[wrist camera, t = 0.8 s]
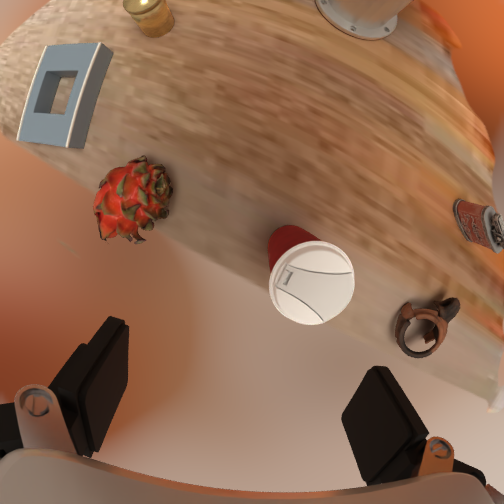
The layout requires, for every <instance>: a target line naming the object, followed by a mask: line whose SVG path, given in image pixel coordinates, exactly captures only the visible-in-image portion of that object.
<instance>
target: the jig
mask: <svg viewBox="0 0 504 504" xmlns="http://www.w3.org/2000/svg"><path fill="white" fill-rule="evenodd" d="M112 55H113V52H112V51H111V50H110V49H108V48H107V47H106V46H105V45H104V44H102V43H101V42H99V43H80V44H63V45H52V46H48V45H46V46H45V48H44V51H43V53H42V56H41V58H40V61H39V64H38V66H37V69H36V72H35V74H34V77H33V80H32V83H31V86H30V90H29V93H28V96H27V99H26V103H25V106H24V110H23V114H22V118H21V122H20V126H19V130H18V135H17V141H26V142H34V143H42V144H49V145H56V146H62V147H69V148H83V149H84V145H85V141H86V136H87V132H88V129H89V125H90V121H91V117H92V114H93V111H94V107H95V104H96V101H97V97H98V94H99V91H100V88H101V85H102V82H103V79H104V77H105V74H106V71H107V68H108V66H109V63H110V61H111V58H112ZM61 77H76V79H75V82H74V85H73V88H72V91H71V94H70V97H69V101H68V104H67V107H66V111H65V114H64V115H61V114H50V111H51V107H52V103H53V100H54V97H55V94H56V90H57V87H58V84H59V81H60V78H61Z"/></svg>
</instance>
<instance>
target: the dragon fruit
mask: <svg viewBox="0 0 504 504" xmlns="http://www.w3.org/2000/svg"><path fill="white" fill-rule="evenodd" d="M164 169H166V168H165V167H164V166H163V165H162V164H150V165H148V163H147V158H146V156H145V155H144V156H141V157H139V158H137V159H134V160H131V161H129V162H128V164H127V166H126V167H118V168H115V169H113V170H111V171H110V172H109V173H108V174H107V175H106V177H105V179H104V180H102V181H101V182H100V185H99V188H101V190H100V191H98V192H97V194H96V198H95V201H94V206H93V210H94V214H95V215H96V217H97V222H98V227H99V232H100V237H101V238H102V240H103V239H104V240H106V238H112V237H115V236H116V235H117V234H119V235H120V236H121V237H123V238H124V237H126V238H127V239H128V240H129V241H130V242H131V241H132V237H131V236H130V234H131V233H132V235H133V237H134V238H135V239H137V241H136V242H135V244H140V243H142V242H144V241H146V240H145V239H143V238H142V237H140V235H139V234H138V227H141V228H142V229H143V230H149V231H150V230H153V228H154V223H153V222H152V220H154V221H156V220H157V219H161V218H163V219H165V218H167V216H168V214H169V210H167V211H166V210H164V209H163V208H164V207H167V206H168V204H169V200H168V199H169V198H170V197H171V196H172V194H173V188H172V187H170V186H169V184H170V182H171V181H170V178H169V177H168V175H167V174H166V173H165V170H164Z"/></svg>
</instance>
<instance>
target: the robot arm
mask: <svg viewBox="0 0 504 504" xmlns="http://www.w3.org/2000/svg"><path fill="white" fill-rule="evenodd" d="M315 1H316V5H317V7H318V9H319V10H320V12H321V13H322V15H323V16H324V17H325V18H326V19H327V20H328V21H329V22H330V23H331V24H333V25H334V26H335V27H336V28H338V29H340V30H341V31H343V32H345V33H347V34H349V35H351V36H354V37H357V38H360V39H366V40H377V39H382V38H384V37H387V36H388V35H389V34H391V33H392V32H393V31H394V30H395V28H396V26H397V20H398V18H397V14H398V13H399V12H400V11H401V10H402V9H404V8H405V7H406V6H407V5H408V4H410V3H411V2H412V1H413V0H315ZM128 344H129V326H128V325H125V321H124V320H121V319H118V318H115V317H112V316H109V317H108V318H107V320H106V321H105V322H104V323H103V325H102V326H101V327H100V329H99V330H98V331H97V332H96V334H95V335H94V336H93V338H92V339H91V340H90V342H89V343H88V344H84V343H83V344H80V345H79V346H78V348H77V349H76V350H75V352H74V353H73V354H72V355H71V357H70V358H69V359H68V361H67V362H66V363H65V365H64V366H63V367H62V369H61V370H60V371H59V373H58V374H57V375H56V377H55V378H54V380H53V381H52V383H51V384H50V385H49V387H48V388H47V387H45V386H41V385H28V386H25V387H23V388H22V389H20V390H19V391H18V392H17V394H16V397H15V402H14V403H7V404H0V504H504V495H503V494H501V493H500V492H499V491H497V490H496V489H495V488H493V487H492V486H490V485H489V484H487V485H486V479H485V476H484V474H483V473H482V472H481V471H480V470H478V469H476V468H474V467H472V466H469V465H467V464H465V463H463V462H460V461H458V460H456V459H454V449H453V447H452V445H451V444H450V443H449V442H448V441H447V440H445V439H444V438H441V437H431V438H430V439H428V440H426V437H427V435H428V434H429V432H428V430H427V428H426V427H425V425H424V424H423V422H422V420H421V418H420V417H419V415H418V414H417V412H416V410H415V409H414V407H413V406H412V404H411V403H410V401H409V399H408V398H407V396H406V395H405V393H404V391H403V390H402V388H401V387H400V386H399V384H398V382H397V381H396V379H395V378H394V376H393V374H392V373H391V371H390V370H389V368H387V367H385V366H373V367H372V368H371V369H369V370H368V371H367V373H366V375H365V376H364V378H363V380H362V382H361V383H360V385H359V387H358V389H357V391H356V392H355V394H354V395H353V397H352V399H351V401H350V402H349V404H348V406H347V407H346V408H345V410H344V412H343V413H342V418H341V420H342V423H343V426H344V429H345V431H346V434H347V437H348V440H349V442H350V445H351V448H352V451H353V454H354V457H355V459H356V462H357V465H358V468H359V471H360V474H361V477H362V479H363V480H364V481H365V482H366V484H367V486H366V487H358V488H351V489H342V490H331V491H318V492H317V491H316V492H255V491H241V490H230V489H220V488H212V487H205V486H199V485H193V484H187V483H182V482H177V481H171V480H167V479H163V478H158V477H153V476H149V475H145V474H142V473H138V472H134V471H130V470H127V469H124V468H120V467H117V466H114V465H110V464H106V463H103V462H100V461H97V460H94V459H90V458H91V457H92V454H93V452H94V451H95V452H99V450H100V447H101V445H102V443H103V440H104V438H105V435H106V433H107V430H108V428H109V426H110V423H111V421H112V419H113V416H114V414H115V412H116V409H117V407H118V405H119V402H120V400H121V398H122V395H123V393H124V391H125V389H126V386H127V382H128ZM83 455H85V456H87V457H89V458H86V457H83ZM381 483H382V484H381Z"/></svg>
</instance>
